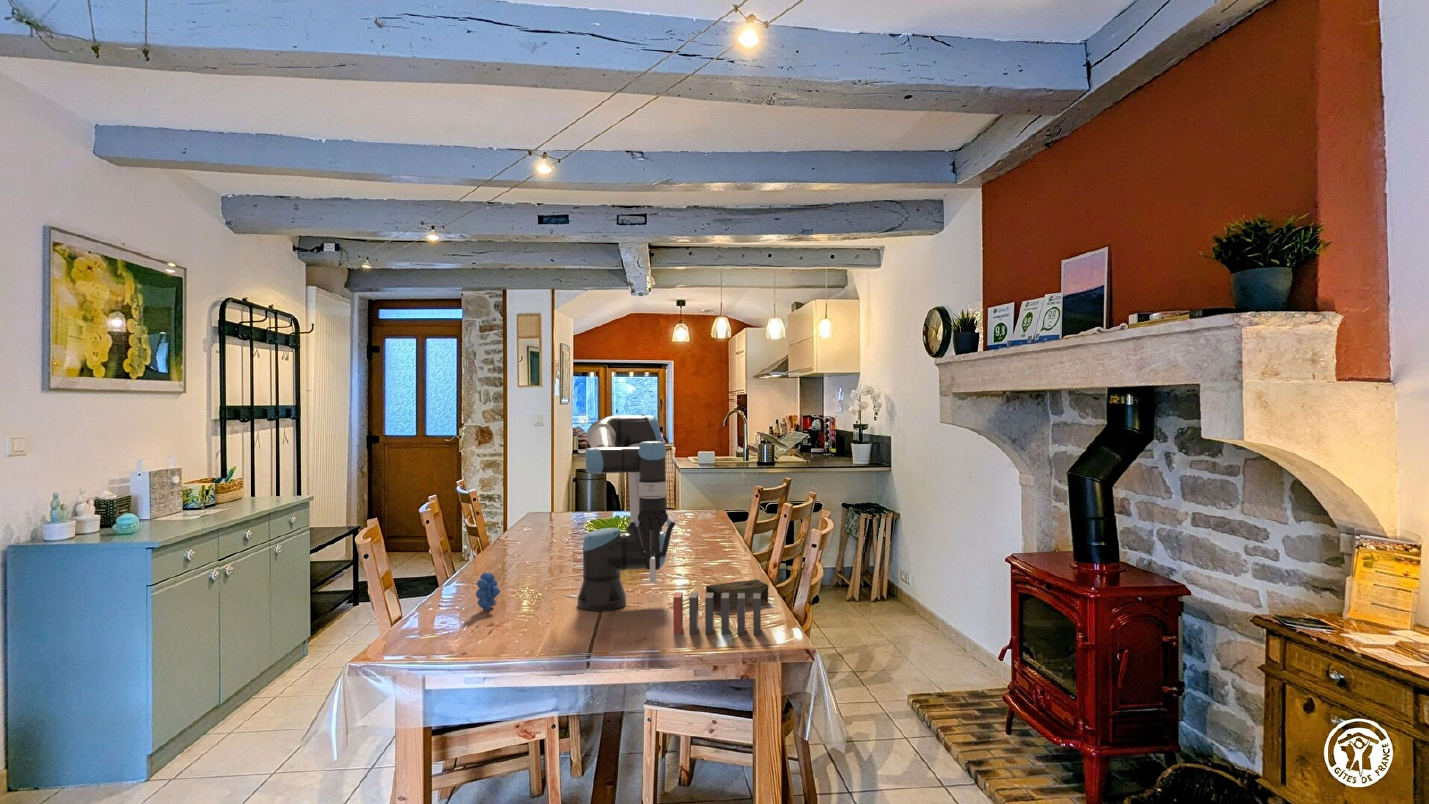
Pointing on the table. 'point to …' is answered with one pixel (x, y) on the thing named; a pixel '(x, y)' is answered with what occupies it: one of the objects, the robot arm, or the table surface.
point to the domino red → (678, 612)
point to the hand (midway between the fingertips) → (653, 581)
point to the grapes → (487, 591)
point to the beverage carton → (736, 588)
